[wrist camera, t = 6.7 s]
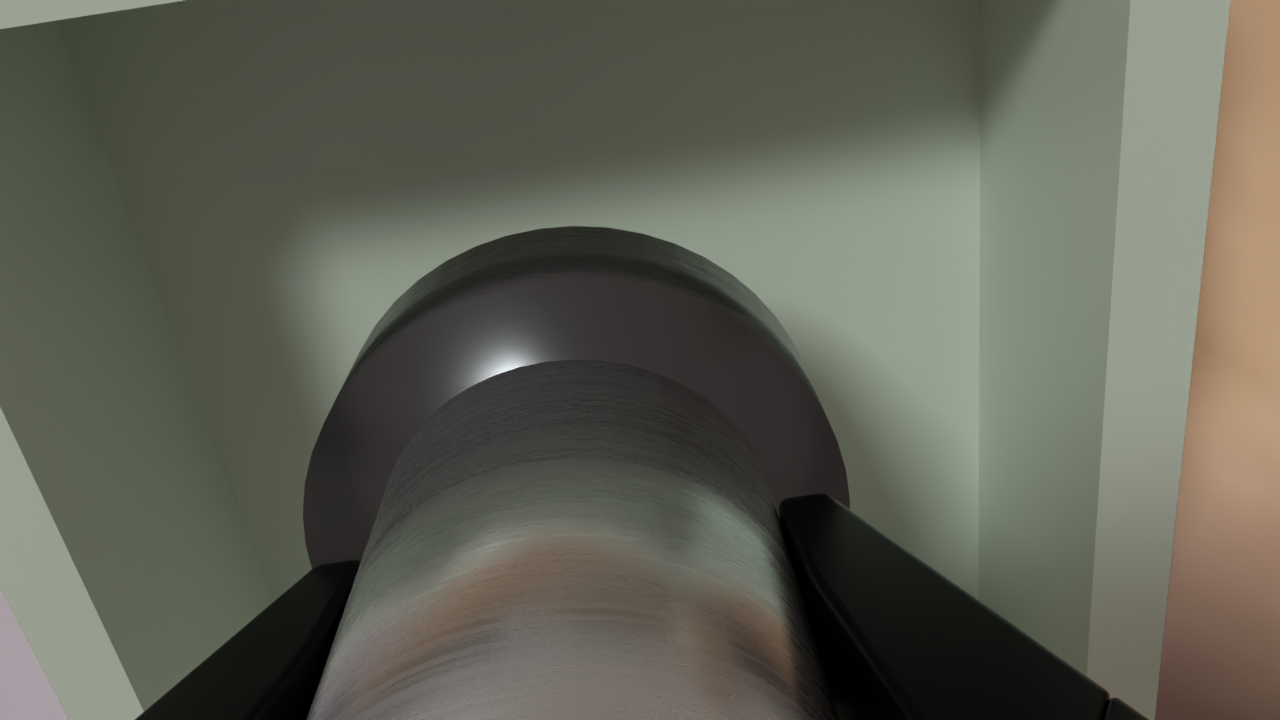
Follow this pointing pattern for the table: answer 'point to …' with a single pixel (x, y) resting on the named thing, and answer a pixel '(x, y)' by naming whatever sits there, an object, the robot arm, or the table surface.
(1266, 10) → the table surface
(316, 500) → the brass cabinet knob
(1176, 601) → the table surface
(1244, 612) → the table surface
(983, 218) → the bin
